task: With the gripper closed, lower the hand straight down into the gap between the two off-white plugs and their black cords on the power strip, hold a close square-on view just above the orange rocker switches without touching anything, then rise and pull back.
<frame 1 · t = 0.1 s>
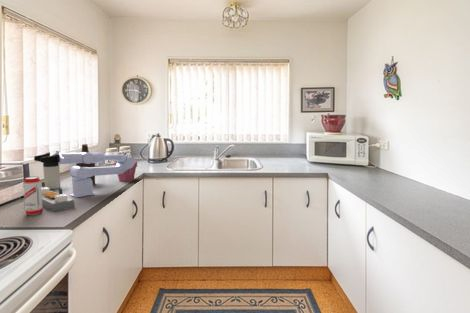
hand: (37, 159, 144), 22 cm above the countertop, tool horizontal, fingers open, 7 cm apart
middle switch: (51, 194, 146), point 4 cm above the countertop, hinge at 12.0°
olive oil: (86, 184, 187), on the countertop
beer can: (34, 214, 132), on the countertop
plant pot: (126, 180, 201), on the countertop
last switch: (54, 196, 143), point 4 cm above the countertop, hinge at 12.0°
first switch: (48, 193, 148), point 4 cm above the countertop, hinge at 12.0°
travel mug: (52, 188, 177), on the countertop
left plug: (44, 193, 152), point 3 cm above the countertop, touching power strip
power strip: (52, 203, 146), on the countertop
right plug: (61, 200, 139), point 3 cm above the countertop, touching power strip
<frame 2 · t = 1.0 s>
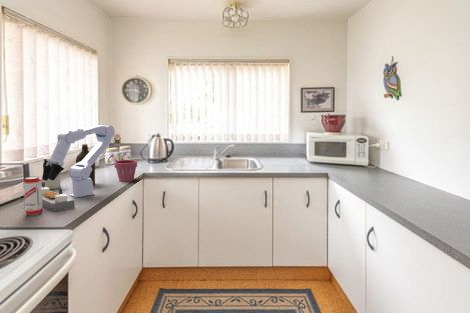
hand: (47, 179, 144), 12 cm above the countertop, tool tilted 30°, fingers open, 7 cm apart
nothing on the countertop moved.
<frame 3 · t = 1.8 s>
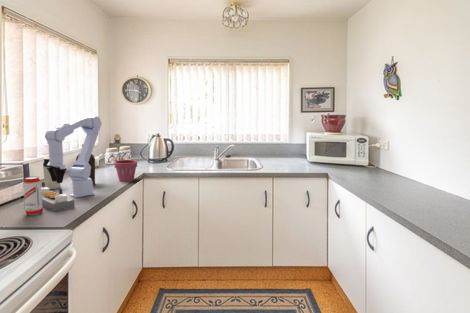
hand: (57, 182, 147), 10 cm above the countertop, tool pointing down, fingers open, 5 cm apart
nothing on the countertop moved.
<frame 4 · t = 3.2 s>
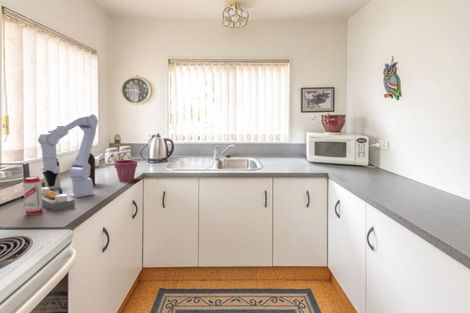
hand: (51, 186, 145), 9 cm above the countertop, tool pointing down, fingers closed
nothing on the countertop moved.
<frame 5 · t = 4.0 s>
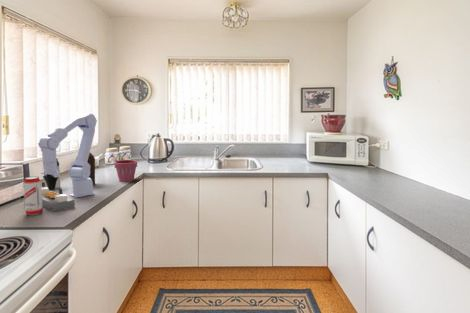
hand: (51, 189, 145), 7 cm above the countertop, tool pointing down, fingers closed
nothing on the countertop moved.
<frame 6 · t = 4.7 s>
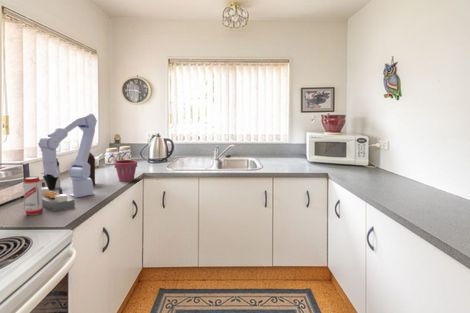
hand: (51, 189, 145), 7 cm above the countertop, tool pointing down, fingers closed
nothing on the countertop moved.
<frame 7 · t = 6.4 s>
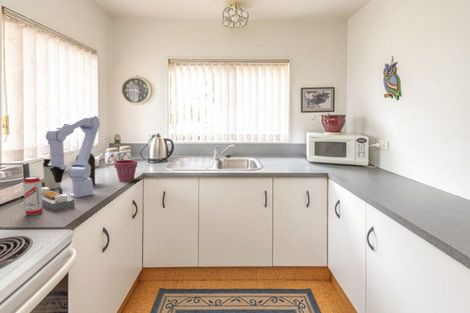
hand: (58, 182, 146), 10 cm above the countertop, tool pointing down, fingers closed
nothing on the countertop moved.
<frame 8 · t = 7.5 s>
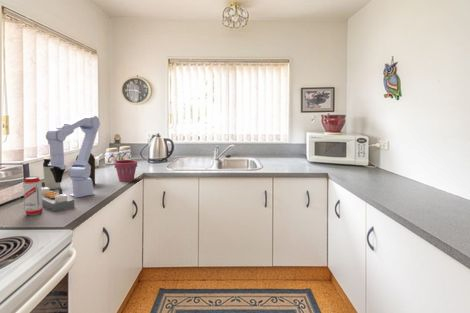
hand: (58, 182, 146), 10 cm above the countertop, tool pointing down, fingers closed
nothing on the countertop moved.
at the end: left plug moved 0.0 cm from its start; right plug moved 0.0 cm from its start; middle switch at +12° (first picture: +12°) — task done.
